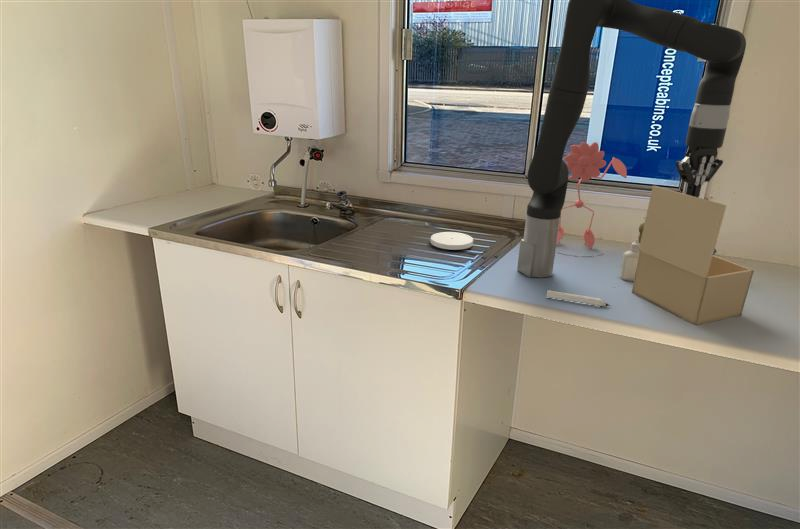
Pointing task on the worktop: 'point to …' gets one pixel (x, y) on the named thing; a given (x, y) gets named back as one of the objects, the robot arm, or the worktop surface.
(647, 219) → the lid flap
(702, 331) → the worktop surface
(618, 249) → the worktop surface
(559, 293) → the marker
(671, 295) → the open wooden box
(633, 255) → the eye dropper bottle
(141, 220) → the worktop surface
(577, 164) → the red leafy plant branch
